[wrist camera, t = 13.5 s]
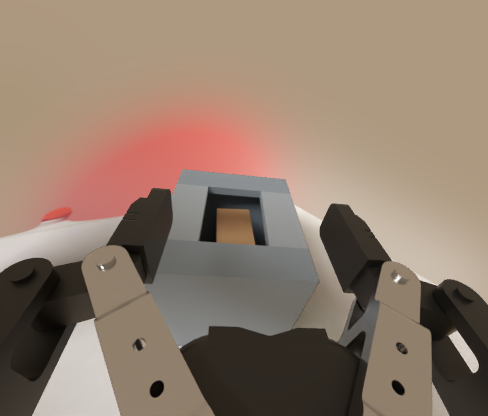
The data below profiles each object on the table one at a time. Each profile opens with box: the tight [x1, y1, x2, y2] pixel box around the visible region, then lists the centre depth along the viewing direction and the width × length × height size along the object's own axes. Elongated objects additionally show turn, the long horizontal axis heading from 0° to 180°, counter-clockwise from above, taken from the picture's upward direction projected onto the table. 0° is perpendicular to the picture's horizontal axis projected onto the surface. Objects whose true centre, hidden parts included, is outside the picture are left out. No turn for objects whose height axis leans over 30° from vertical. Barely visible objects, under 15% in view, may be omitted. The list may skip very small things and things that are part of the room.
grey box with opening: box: [145, 170, 319, 346], centre depth 28 cm, size 16×14×14 cm
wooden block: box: [215, 208, 255, 245], centre depth 29 cm, size 6×4×12 cm, turn 6°
